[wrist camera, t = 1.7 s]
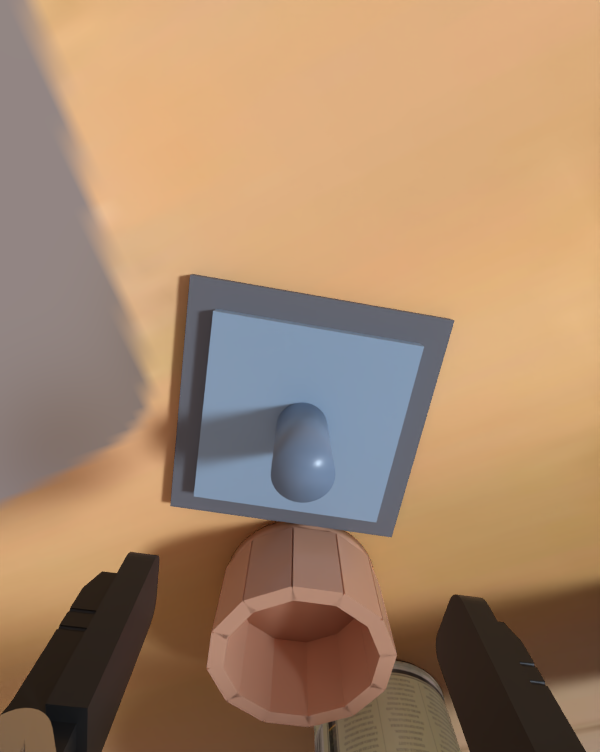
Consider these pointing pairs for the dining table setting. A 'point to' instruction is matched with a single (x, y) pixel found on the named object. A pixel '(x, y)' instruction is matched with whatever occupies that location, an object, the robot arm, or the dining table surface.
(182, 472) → the mat
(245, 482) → the lid
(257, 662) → the faceted pink cup
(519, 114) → the dining table surface
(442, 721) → the coffee can
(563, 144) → the dining table surface
